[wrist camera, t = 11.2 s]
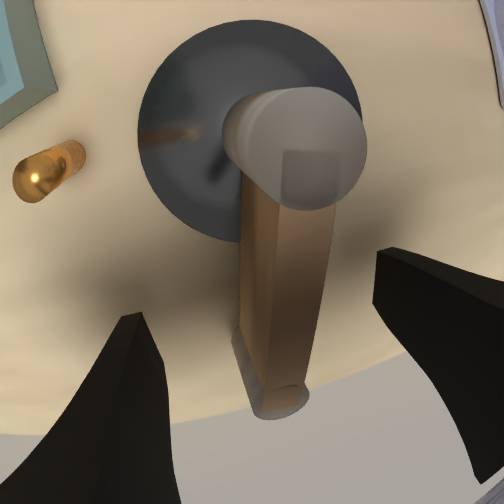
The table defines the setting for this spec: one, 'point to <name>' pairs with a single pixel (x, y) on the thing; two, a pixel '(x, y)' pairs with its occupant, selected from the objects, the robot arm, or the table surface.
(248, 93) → the crank base
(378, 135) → the table surface
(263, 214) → the crank
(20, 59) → the tray
